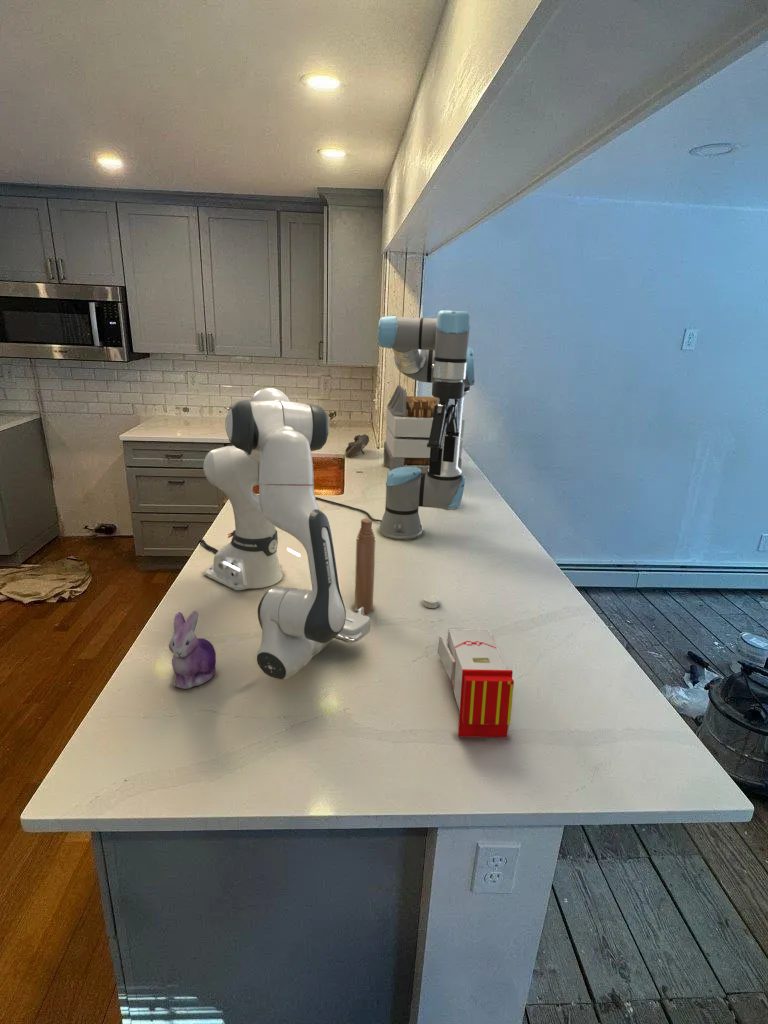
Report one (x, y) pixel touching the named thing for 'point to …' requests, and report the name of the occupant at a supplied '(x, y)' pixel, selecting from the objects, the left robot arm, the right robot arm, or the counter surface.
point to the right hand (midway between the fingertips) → (441, 467)
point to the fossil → (357, 445)
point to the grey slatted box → (410, 430)
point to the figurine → (191, 653)
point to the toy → (478, 682)
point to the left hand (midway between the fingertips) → (344, 604)
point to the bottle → (365, 566)
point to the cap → (431, 601)
